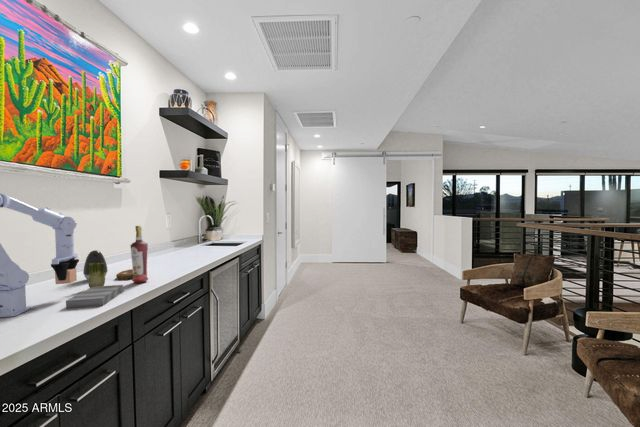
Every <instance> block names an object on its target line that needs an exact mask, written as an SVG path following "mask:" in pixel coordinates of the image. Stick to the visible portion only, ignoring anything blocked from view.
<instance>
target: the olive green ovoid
mask: <svg viewBox="0 0 640 427" xmlns="http://www.w3.org/2000/svg"><path fill="white" fill-rule="evenodd" d="M84 261H85V262H84V264H83V270H82V274H83V275H84V278H85V279H86V280H89V273H90V272H89V264H92V266H93V263H95V266H96V263H100V271H101V263H104V272H105V277H106V275H107V274H108V272H109V271H108V270H109V269H108V266H107V262H106V259H105V257H104V255H103V253H102V252H101V251H100V250H98V249H97V250H96V249H95V250H92V251H90V252H89V253H88V254H87V256H86V258H85V260H84ZM96 272H97V266H96Z"/></svg>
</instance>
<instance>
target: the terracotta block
mask: <svg viewBox="0 0 640 427" xmlns="http://www.w3.org/2000/svg"><path fill="white" fill-rule="evenodd" d="M77 277H78V275H77V268H75V269H67V275H66V280H61V281H59V280H58V277H57V275H56V272H55V271H54V279H55V280H54V281H55V285H65V284H66V285H68V284H71V283H74V282H76V281H78V280H77V279H78V278H77Z"/></svg>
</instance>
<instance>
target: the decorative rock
mask: <svg viewBox="0 0 640 427" xmlns="http://www.w3.org/2000/svg"><path fill="white" fill-rule="evenodd" d="M115 275H116V279H117V280H120V281H125V280H126V279H127V280H126V281H128V280H129V279H130V280H133V268H131V269H130V268H129V269H126V270H123V271H119V272H118V273H117V274H115Z"/></svg>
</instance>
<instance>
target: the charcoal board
mask: <svg viewBox="0 0 640 427" xmlns="http://www.w3.org/2000/svg"><path fill="white" fill-rule="evenodd" d="M123 292H124V284H116V285H115V284H113V285H104V286H97V287H91V288H90V287H89V288H87V289H85V290H84V291H81V292H80V293H77V294H76V295H74V296H72V297H70V298H68V299H67V300H65V309H67V310H68V309H80V308H93V306H94V307H103V305H104V306H105V305H107V303H109V302H110V301H112V300H114V299H115V298H116V297H118V296H119V295H121V294H122V293H123Z"/></svg>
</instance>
